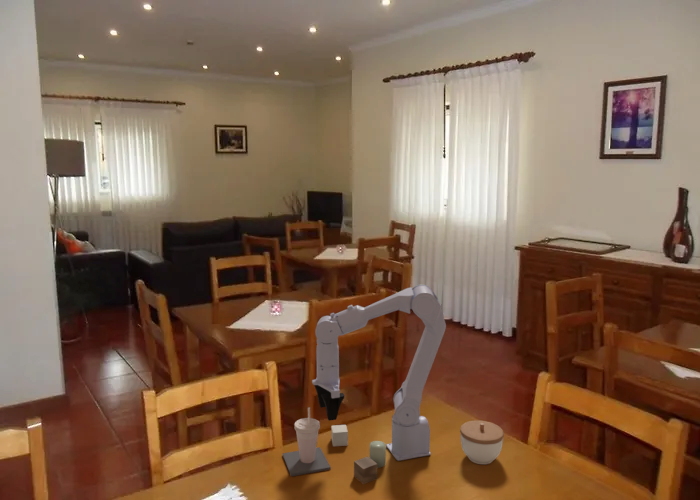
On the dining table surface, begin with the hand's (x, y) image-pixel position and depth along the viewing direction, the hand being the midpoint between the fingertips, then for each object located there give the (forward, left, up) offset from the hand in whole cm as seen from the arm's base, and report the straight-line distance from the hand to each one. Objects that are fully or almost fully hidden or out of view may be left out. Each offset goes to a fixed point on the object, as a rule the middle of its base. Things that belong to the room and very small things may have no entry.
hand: (328, 412), depth 145 cm
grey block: (-4, -3, -10) cm, 12 cm away
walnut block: (-5, +15, -10) cm, 19 cm away
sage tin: (-10, +10, -10) cm, 18 cm away
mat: (+7, +4, -10) cm, 13 cm away
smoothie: (+6, +4, -10) cm, 12 cm away
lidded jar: (-36, +16, -11) cm, 41 cm away
